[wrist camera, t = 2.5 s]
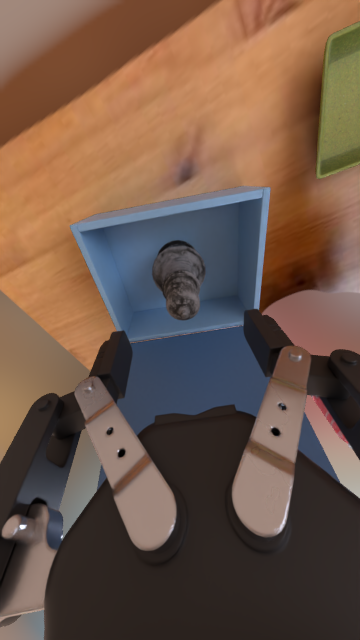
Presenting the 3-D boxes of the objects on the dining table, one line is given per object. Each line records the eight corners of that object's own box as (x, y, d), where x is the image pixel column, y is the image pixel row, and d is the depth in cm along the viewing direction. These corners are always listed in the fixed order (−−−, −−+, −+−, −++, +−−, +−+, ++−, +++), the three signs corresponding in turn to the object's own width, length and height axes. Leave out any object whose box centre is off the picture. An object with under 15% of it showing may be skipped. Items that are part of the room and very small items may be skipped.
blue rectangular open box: (94, 214, 21) (68, 225, 16) (243, 185, 20) (271, 187, 15) (131, 313, 29) (122, 344, 23) (240, 295, 28) (257, 322, 22)
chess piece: (196, 231, 22) (219, 270, 12) (204, 278, 25) (228, 338, 16) (147, 244, 22) (131, 292, 13) (161, 288, 26) (158, 353, 16)
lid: (92, 511, 13) (97, 511, 13) (341, 483, 12) (336, 484, 13) (121, 344, 23) (123, 348, 23) (259, 322, 22) (258, 326, 22)
